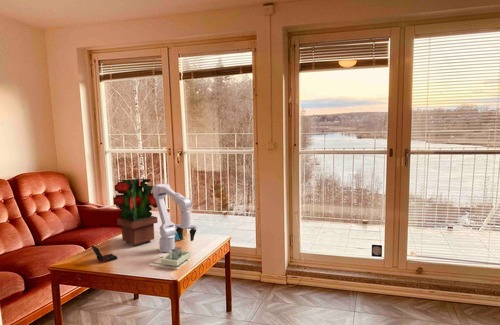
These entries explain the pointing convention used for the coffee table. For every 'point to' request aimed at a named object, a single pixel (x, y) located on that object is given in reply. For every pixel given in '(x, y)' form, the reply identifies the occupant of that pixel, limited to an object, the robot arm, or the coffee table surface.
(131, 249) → the coffee table surface
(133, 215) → the potted plant
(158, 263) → the rail board
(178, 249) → the part block
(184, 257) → the mint green storage bin
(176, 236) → the gear
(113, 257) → the handheld gaming console
